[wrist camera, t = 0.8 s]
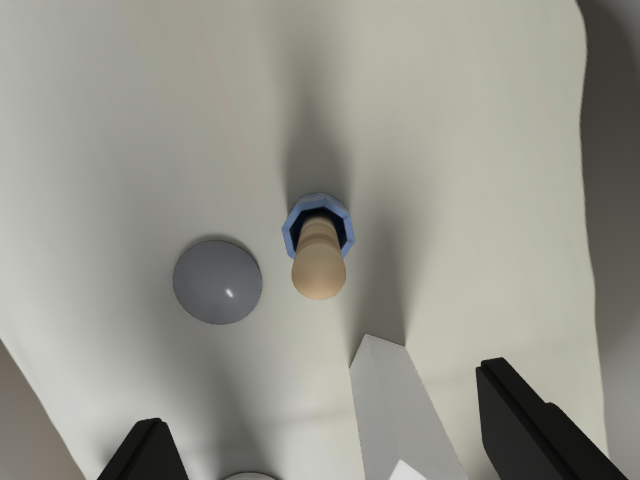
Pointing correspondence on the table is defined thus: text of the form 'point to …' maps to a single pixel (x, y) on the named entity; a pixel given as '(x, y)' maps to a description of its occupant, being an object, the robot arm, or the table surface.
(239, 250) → the coaster
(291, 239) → the cup
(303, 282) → the wooden pestle
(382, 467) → the milk
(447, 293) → the table surface
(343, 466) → the table surface
